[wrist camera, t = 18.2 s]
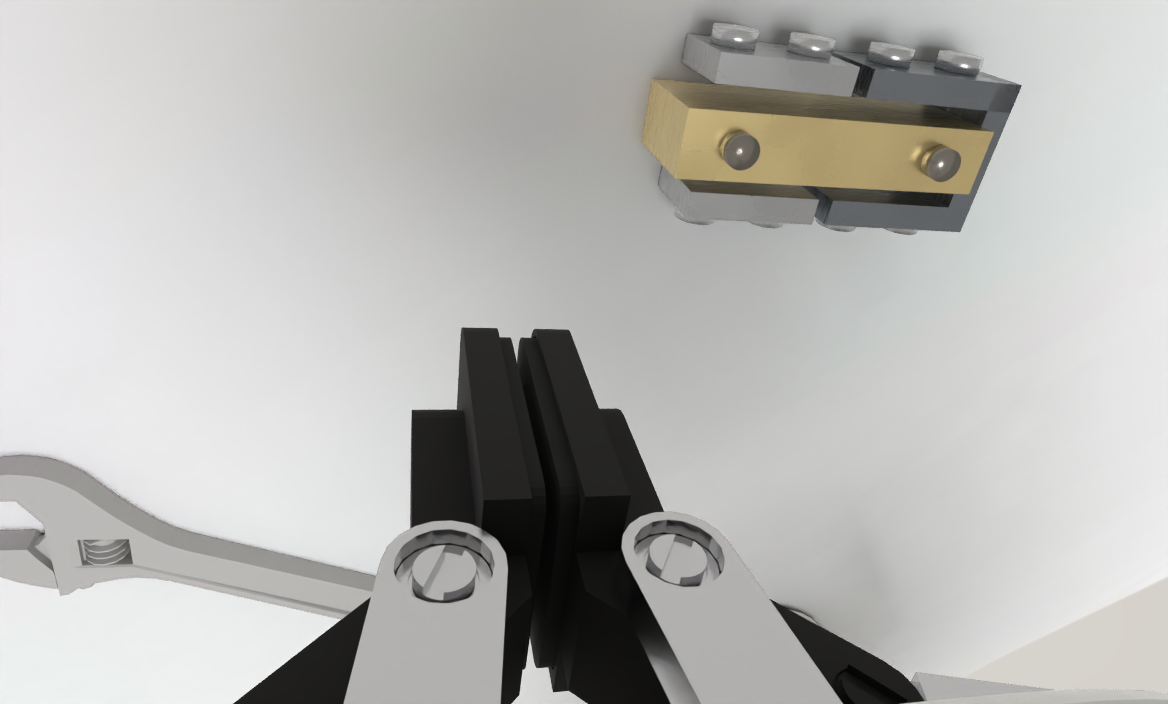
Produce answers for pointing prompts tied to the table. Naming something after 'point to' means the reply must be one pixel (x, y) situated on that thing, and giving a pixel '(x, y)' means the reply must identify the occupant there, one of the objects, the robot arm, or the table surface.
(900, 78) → the chain end dark
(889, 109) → the master link
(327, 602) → the adjustable wrench
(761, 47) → the chain end grey
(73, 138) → the table surface
